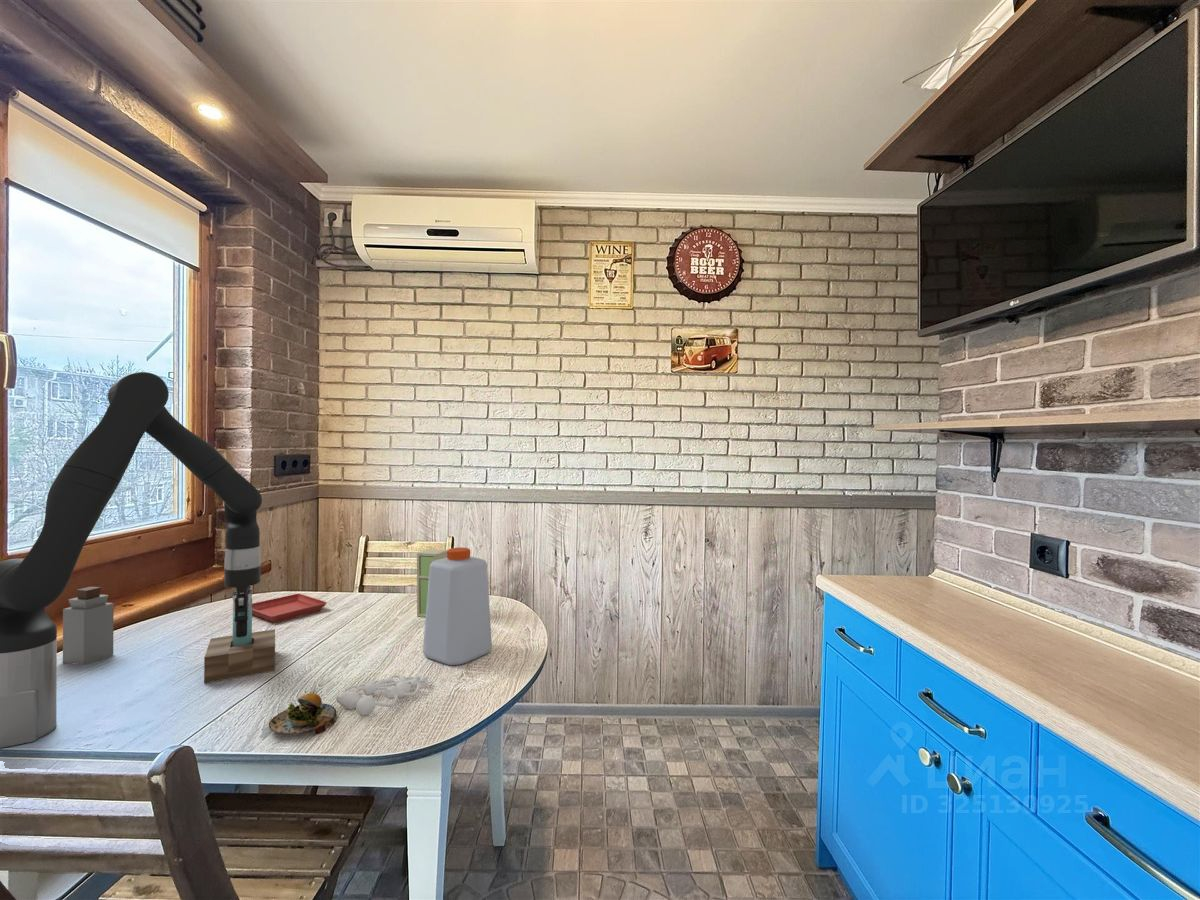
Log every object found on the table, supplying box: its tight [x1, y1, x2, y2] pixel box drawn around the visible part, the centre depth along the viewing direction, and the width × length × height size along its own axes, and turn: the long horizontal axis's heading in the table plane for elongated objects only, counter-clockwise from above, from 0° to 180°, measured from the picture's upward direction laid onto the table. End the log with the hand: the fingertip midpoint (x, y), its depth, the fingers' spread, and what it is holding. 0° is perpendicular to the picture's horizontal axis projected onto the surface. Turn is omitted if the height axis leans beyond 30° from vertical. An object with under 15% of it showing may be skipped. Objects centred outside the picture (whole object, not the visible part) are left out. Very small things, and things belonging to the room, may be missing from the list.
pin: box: [232, 598, 253, 647], centre depth 134 cm, size 4×4×15 cm
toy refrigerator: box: [416, 548, 449, 618], centre depth 175 cm, size 8×7×21 cm
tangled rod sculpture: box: [335, 674, 429, 717], centre depth 119 cm, size 19×14×4 cm
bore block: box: [203, 628, 276, 684], centre depth 134 cm, size 14×14×6 cm
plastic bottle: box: [422, 547, 493, 666], centre depth 144 cm, size 15×15×28 cm
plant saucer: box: [252, 593, 328, 623], centre depth 176 cm, size 18×18×3 cm
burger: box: [268, 683, 338, 736], centre depth 106 cm, size 12×12×8 cm
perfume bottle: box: [62, 586, 115, 666], centre depth 137 cm, size 7×7×18 cm
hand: (242, 632), depth 134 cm, fingers open, 6 cm apart
